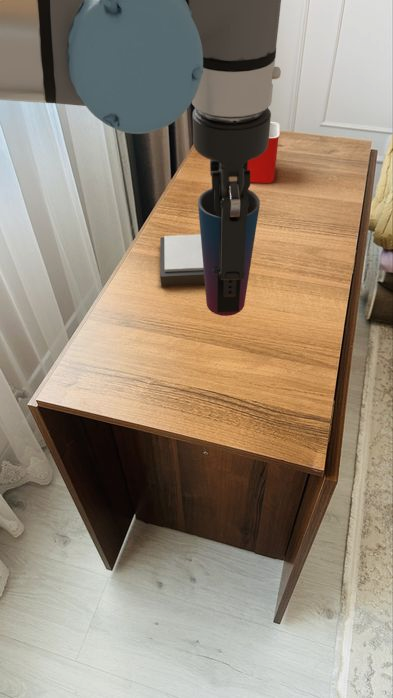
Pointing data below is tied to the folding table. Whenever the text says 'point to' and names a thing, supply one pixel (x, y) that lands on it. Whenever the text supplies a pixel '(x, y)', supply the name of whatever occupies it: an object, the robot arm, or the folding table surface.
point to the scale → (181, 260)
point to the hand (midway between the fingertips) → (225, 292)
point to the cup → (211, 246)
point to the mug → (266, 159)
